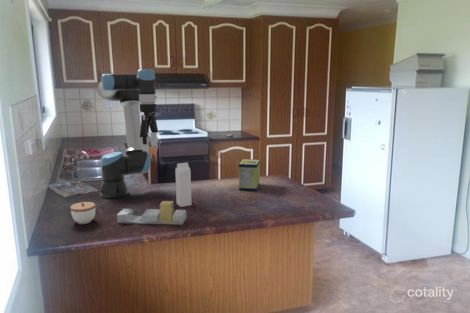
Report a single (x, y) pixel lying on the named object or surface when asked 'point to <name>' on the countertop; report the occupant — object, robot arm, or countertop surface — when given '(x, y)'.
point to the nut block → (166, 210)
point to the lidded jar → (83, 212)
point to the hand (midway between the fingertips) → (150, 148)
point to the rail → (150, 217)
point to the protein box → (249, 174)
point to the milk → (183, 184)
